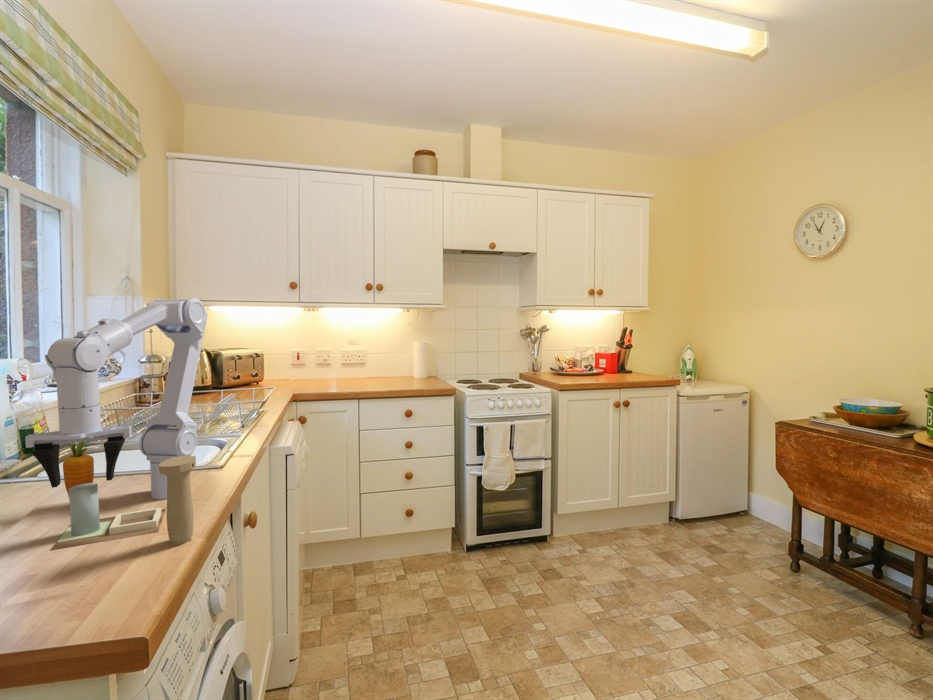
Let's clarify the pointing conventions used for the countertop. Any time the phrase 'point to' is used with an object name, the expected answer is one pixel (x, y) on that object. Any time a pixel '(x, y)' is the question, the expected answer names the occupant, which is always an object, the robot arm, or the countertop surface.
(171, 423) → the robot arm
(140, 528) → the cream square frame
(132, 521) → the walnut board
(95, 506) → the grey-blue cylinder
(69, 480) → the carrot
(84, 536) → the pad
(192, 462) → the handle
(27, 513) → the countertop surface
